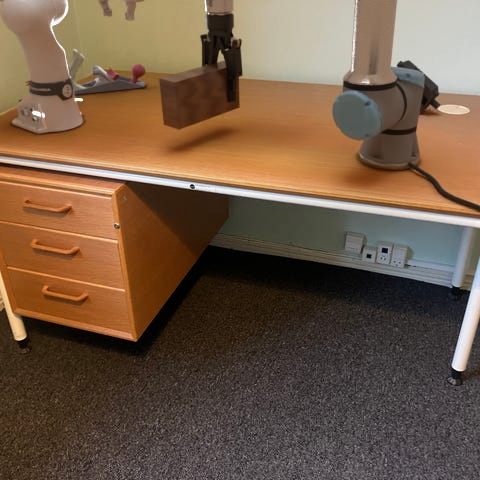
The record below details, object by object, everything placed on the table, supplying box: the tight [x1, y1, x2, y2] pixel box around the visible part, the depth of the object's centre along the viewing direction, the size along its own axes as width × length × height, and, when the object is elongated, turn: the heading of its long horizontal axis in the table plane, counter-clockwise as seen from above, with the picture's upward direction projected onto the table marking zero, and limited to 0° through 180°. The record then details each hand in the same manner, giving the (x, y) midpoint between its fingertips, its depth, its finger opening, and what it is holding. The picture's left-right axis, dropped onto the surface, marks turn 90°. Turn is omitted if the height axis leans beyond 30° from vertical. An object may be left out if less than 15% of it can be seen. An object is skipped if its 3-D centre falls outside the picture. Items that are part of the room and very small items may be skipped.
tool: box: [396, 59, 442, 114], centre depth 170 cm, size 6×19×15 cm, turn 51°
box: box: [158, 60, 241, 131], centre depth 146 cm, size 24×6×12 cm, turn 137°
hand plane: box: [68, 48, 146, 95], centre depth 194 cm, size 7×31×15 cm, turn 107°
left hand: (118, 18), depth 138 cm, fingers open, 8 cm apart
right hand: (222, 98), depth 153 cm, fingers closed on box, 6 cm apart
